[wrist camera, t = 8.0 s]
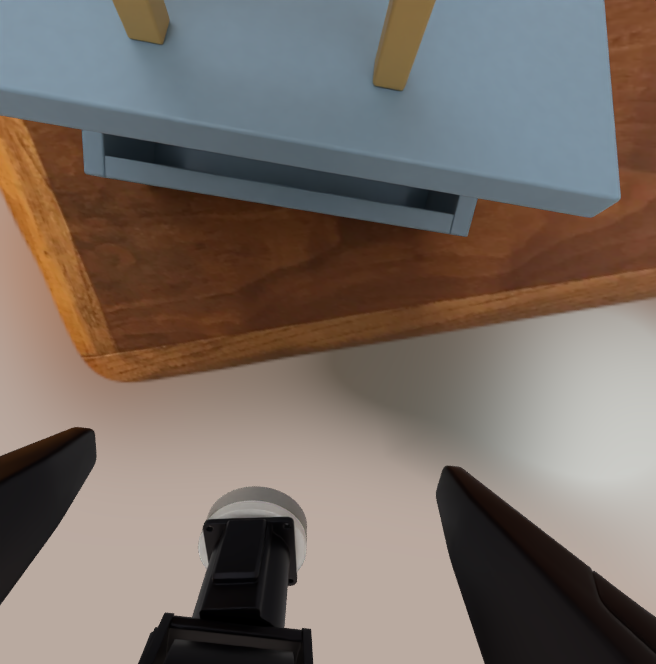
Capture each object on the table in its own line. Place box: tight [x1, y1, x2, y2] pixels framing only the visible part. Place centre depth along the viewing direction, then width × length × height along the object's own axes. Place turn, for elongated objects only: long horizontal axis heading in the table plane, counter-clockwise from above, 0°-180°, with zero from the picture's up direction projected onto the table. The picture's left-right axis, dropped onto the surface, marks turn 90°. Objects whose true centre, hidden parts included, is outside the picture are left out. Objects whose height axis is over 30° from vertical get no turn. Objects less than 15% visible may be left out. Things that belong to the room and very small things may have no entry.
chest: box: [82, 130, 478, 237], centre depth 15 cm, size 12×16×5 cm
